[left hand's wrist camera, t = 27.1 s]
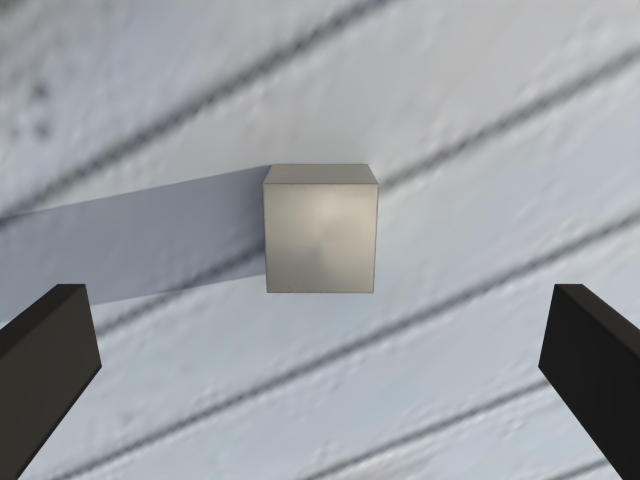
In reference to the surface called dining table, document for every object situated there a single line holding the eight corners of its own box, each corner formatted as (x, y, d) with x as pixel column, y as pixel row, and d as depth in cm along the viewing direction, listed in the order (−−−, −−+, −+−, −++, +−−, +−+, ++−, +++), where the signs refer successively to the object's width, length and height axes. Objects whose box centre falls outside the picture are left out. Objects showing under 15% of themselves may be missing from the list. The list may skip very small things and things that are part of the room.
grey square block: (275, 256, 24) (266, 293, 20) (272, 163, 23) (261, 183, 18) (364, 256, 24) (373, 293, 20) (368, 164, 23) (379, 183, 18)
